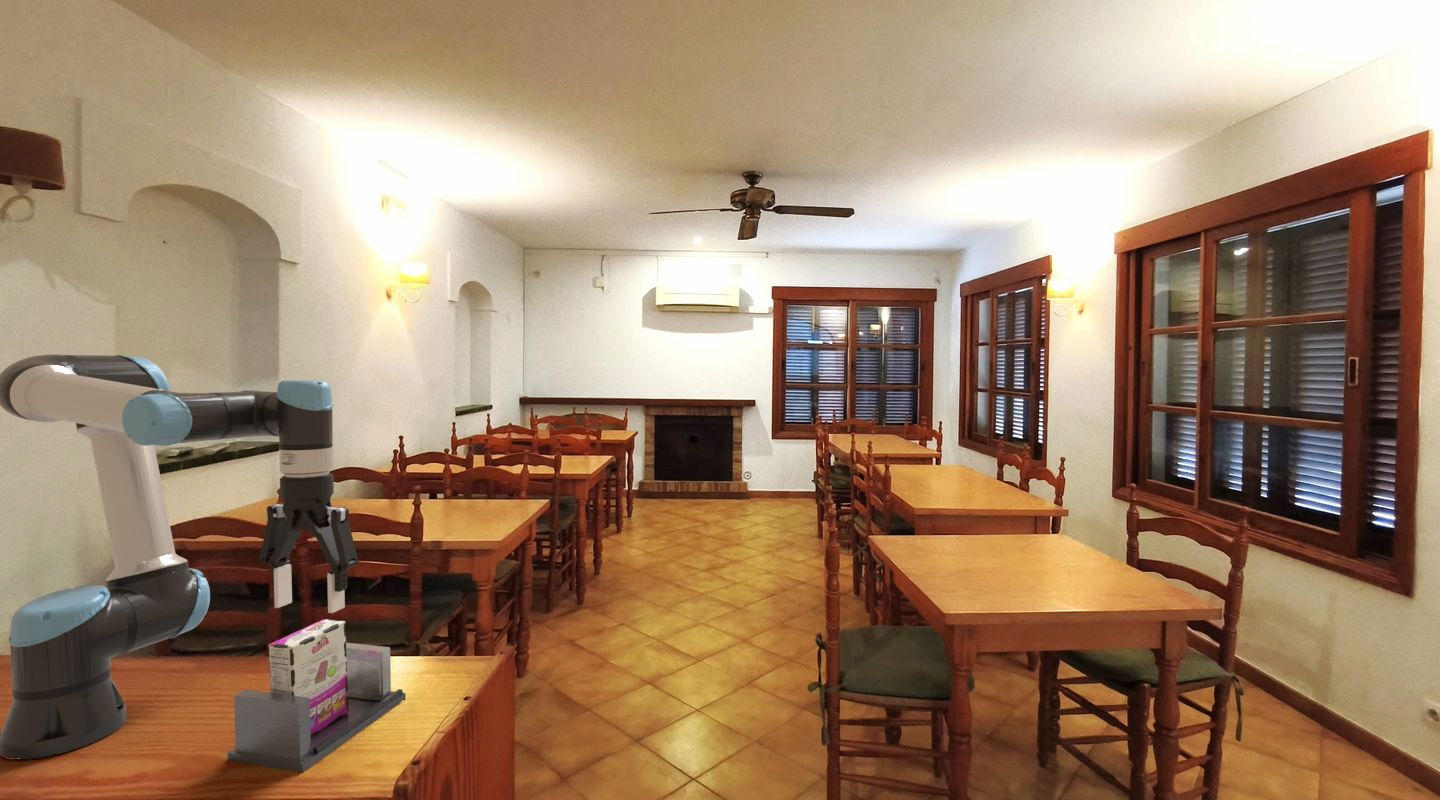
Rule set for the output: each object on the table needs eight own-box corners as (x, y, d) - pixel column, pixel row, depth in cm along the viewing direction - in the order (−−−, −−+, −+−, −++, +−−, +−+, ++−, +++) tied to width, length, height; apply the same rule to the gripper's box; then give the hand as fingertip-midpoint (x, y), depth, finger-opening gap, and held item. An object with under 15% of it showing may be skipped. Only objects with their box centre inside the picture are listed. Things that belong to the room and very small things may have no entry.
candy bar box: (325, 709, 117) (323, 617, 116) (349, 712, 116) (347, 620, 115) (269, 744, 106) (266, 643, 105) (294, 748, 105) (292, 646, 104)
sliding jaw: (330, 694, 121) (329, 646, 121) (362, 675, 129) (361, 630, 129) (382, 701, 119) (381, 652, 119) (411, 681, 127) (411, 635, 126)
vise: (227, 760, 104) (225, 696, 103) (341, 691, 126) (340, 638, 126) (303, 772, 101) (301, 706, 100) (405, 699, 123) (404, 645, 123)
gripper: (229, 474, 108) (233, 609, 109) (347, 480, 103) (350, 621, 104) (270, 468, 115) (273, 594, 116) (382, 472, 110) (384, 605, 111)
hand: (309, 607), depth 110 cm, fingers open, 10 cm apart
